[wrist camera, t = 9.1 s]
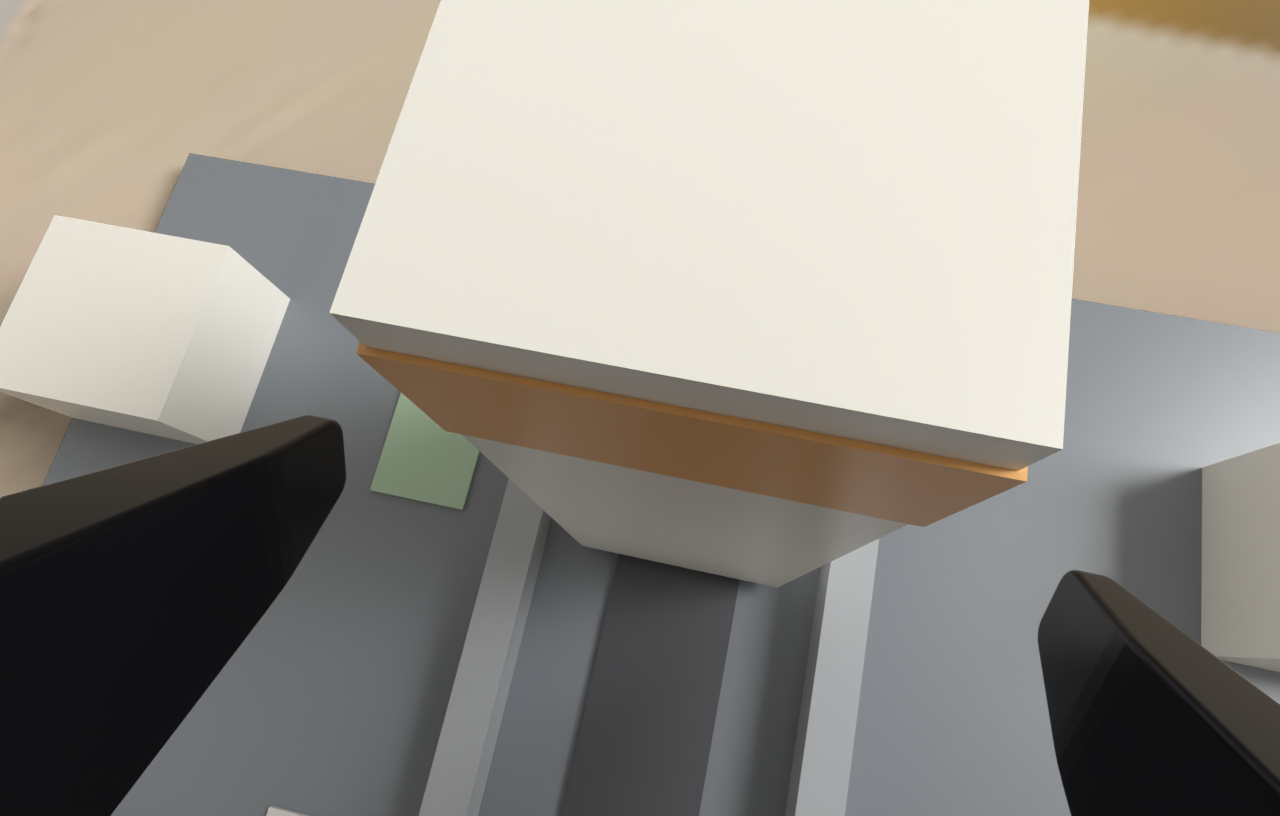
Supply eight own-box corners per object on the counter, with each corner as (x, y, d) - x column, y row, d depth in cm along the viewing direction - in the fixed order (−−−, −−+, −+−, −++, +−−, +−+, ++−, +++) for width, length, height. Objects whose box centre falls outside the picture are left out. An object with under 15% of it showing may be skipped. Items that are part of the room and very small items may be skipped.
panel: (1457, 1699, 10) (1755, 2108, 7) (-213, 1130, 13) (-459, 1268, 10) (1374, 363, 16) (1528, 303, 13) (204, 167, 19) (118, 83, 16)
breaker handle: (779, 591, 14) (1073, 462, 4) (579, 548, 15) (317, 320, 4) (808, 406, 15) (1103, -115, 5) (620, 371, 16) (498, -179, 5)
